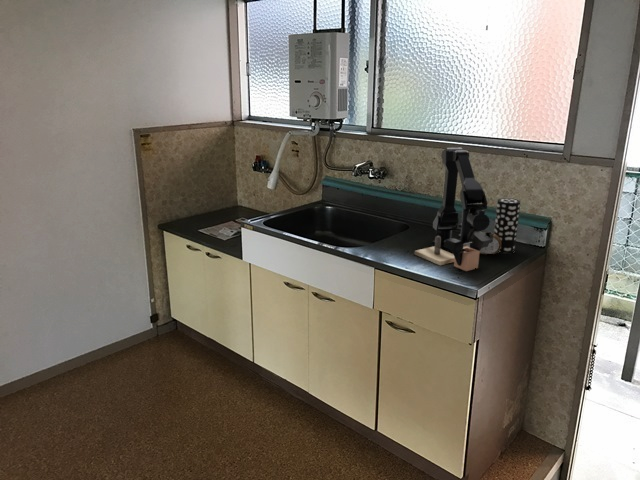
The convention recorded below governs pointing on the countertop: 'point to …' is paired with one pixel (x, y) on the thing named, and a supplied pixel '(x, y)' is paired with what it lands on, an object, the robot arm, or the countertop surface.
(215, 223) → the countertop surface
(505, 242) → the spotted tube
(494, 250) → the tin
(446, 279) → the countertop surface
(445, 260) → the post stand
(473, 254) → the collar
